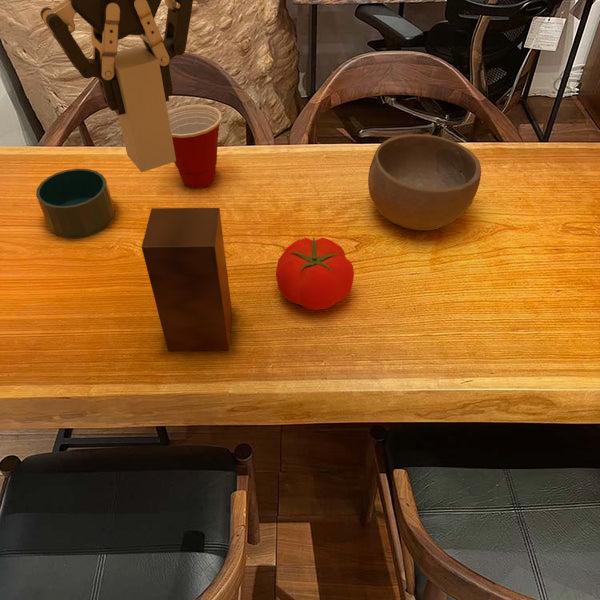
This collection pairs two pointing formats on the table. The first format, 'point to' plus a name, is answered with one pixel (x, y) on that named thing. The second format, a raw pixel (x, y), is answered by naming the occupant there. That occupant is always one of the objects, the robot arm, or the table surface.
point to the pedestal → (189, 277)
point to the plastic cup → (195, 143)
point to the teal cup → (76, 203)
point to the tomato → (314, 273)
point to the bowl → (423, 180)
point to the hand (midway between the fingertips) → (140, 104)
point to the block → (144, 109)
